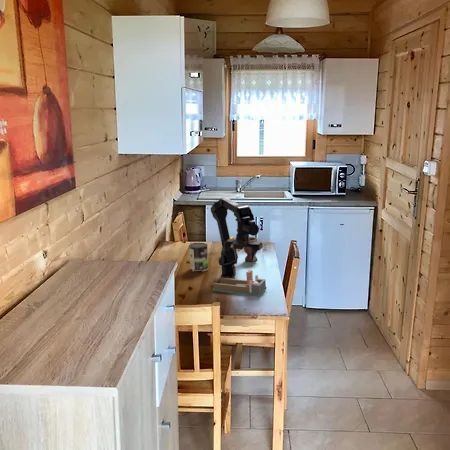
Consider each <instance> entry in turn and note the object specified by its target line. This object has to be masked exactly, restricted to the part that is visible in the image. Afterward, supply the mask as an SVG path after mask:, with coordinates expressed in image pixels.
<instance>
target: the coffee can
mask: <svg viewBox="0 0 450 450" xmlns="http://www.w3.org/2000/svg"><path fill="white" fill-rule="evenodd" d="M188 248H189V260H190V261H189V263H190V270H191V269H192V270H193V271H192V272H194V271H202V272H206V271H208V270H209V255H208V253H209V252H208V244H207V243H205V242H194V243H190V244H189V245H188Z"/></svg>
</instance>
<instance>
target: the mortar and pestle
mask: <svg viewBox="0 0 450 450" xmlns="http://www.w3.org/2000/svg"><path fill="white" fill-rule="evenodd" d="M249 240H250V242H249V243H254V242H258V238H257V237H256V236H249ZM243 250H244V253H245V254H246V256H245V258H244V261H245V262H248V263H253V262H257V261H258V257H257V256H256V255H255V258H254V260H253V262H252V261H251V257H252V252H251V250H252V248H251V247H243Z"/></svg>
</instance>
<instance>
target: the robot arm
mask: <svg viewBox="0 0 450 450" xmlns="http://www.w3.org/2000/svg"><path fill="white" fill-rule="evenodd" d="M228 211H230V212H232V213H233V215H234V217H235V221H236V225H237V228H236V232H237V233H236V236H235V238H234V239H230V237H231V236H230V233H229V227H228V223H227V217H228ZM210 212H211V215H212V217H213V219H214V220H215V221H216V225H217V228H218V232H219V237H220V241H221V245H222V247H223V248H221V251H220V257H219V259H218V264H219V266H221V275H220V277H222V278H233V277H234V276H235V275H236V274H237V272H236V266H235V265H237V264H238V258H239V255H238V253H237V252H238V251H237V250H244V248H243V247H251V248H252V250H251V252H252V257H251V261H252V262H251V263H253V262H254V261H253V260H254V258H255V256H256V255H257V252H258V251H260V250H262V248H263V246H264V244H263V242H262V241H257V242H254V243H249V242H250V240H249V237H250V236H251V237H256V235H258V234H259V232H260V227H259V225H258V224H256V221H255V216H254V214H253V212H252V209H251V208H250V206H249V205H248V204H239V203H238V202H236V201H234V200H232V199H230V198H229V197H221V198H219V199H218V200H217V201H216V202H214V203H213V204H212V206H211V207H210Z"/></svg>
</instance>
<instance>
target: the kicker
mask: <svg viewBox="0 0 450 450" xmlns="http://www.w3.org/2000/svg"><path fill="white" fill-rule="evenodd" d="M245 276H246V280H247V284H246V285H244V284H236V285H238V286H247V287H249V280H252V283H253V282H254V281H255V280H254V275H253V270H251V269H248V270H247V271H246V275H245Z"/></svg>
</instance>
